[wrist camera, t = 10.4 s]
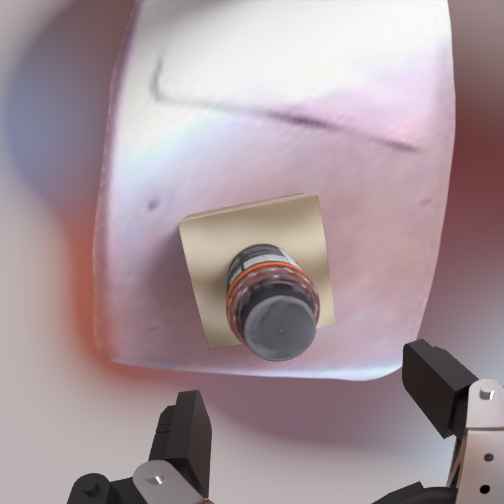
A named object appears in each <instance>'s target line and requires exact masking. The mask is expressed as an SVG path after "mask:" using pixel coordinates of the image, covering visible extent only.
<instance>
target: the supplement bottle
mask: <svg viewBox="0 0 504 504" xmlns="http://www.w3.org/2000/svg"><path fill="white" fill-rule="evenodd" d="M226 288H227V290H226V315H227V320H228V324H229V326H230V329H231V331H232V333H233V334H234V336H235V337H236V338H237V339H238V340H239V341H240V342H241V343H242V344H243V345H245V346H246V347H248V348H249V349H251V351H252V352H253V353H255V354H256V355H257V356H259V357H261V358H263V359H266V360H268V361H286V360H290V359H293V358H295V357H297V356H299V355H301V354H302V353H303V352H304V351H305V350H306V349H307V348H308V347H309V346H310V344H311V343H312V341H313V339H314V337H315V333H316V325H317V323H318V320H319V315H320V299H319V295H318V292H317V290H316V288H315V286H314V285H313V283H312V282H311V280H310V279H309V278H308V277H307V275H306V274H305V273H304V272H303V270H302V269H301V268H300V267H299V266H298V265H297V261H296V263H295V261H294V260H293V259H292V258H291V257H290V256H289V255H288V254H287V253H286V252H285V251H284V250H282V249H281V248H279V247H277V246H274V245H271V244H255V245H251V246H249V247H247V248H245V249H243V250H242V251H241V252H239V253H238V254H237V255H236V256H235V258H234V259H233V261H232V262H231V265H230V267H229V270H228V274H227V287H226Z"/></svg>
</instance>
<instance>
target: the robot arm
mask: <svg viewBox="0 0 504 504" xmlns="http://www.w3.org/2000/svg"><path fill="white" fill-rule="evenodd" d="M402 381H403V384H404V387H405V389H406V390H407V392H408V393H409V394H410V396H411V397H412V398H413V399H414V401H415V402H416V403H417V405H418V406H419V407H420V409H421V410H422V411H423V412H424V414H425V415H426V416H427V418H428V419H429V420H430V422H431V423H432V424H433V425H434V427H435V428H436V429H437V431H438V432H439V433H440V435H441V436H442V437H443V439H445V438H447V437H449V436H451V435H453V434H454V435H455V436H456V437H457V438H456V441H455V446H454V451H453V457H452V462H451V467H450V472H449V476H448V480H447V483H446V487H429V488H423V486H422V484H421V482H420V481H419V482H416V483H414V484H412V485H409V486H407V487H404V488H401V489H399V490H396V491H394V492H391V493H389V494H387V495H386V496H384V497H382V498H381V499H379V500H377V501H375V502H374V503H372V504H504V386H503V385H501V383H499V382H498V381H496V380H493V379H482V380H479V379H478V378H477V377H476V376H475V375H474V374H472V373H471V372H470V371H469V370H468V369H467V368H466V367H465V366H463V365H462V364H461V363H459V361H457V359H455V358H454V357H453V356H452V355H451V354H450V353H449V352H447V351H446V350H444V349H441V348H439V347H436V346H435V347H432V346H430V345H429V344H428V343H427V342H426V341H425V340H423V339H419V340H416V341H413V342H410V343H407V344H405V345H404V348H403V366H402ZM211 440H212V429H211V423H210V419H209V416H208V414H207V411H206V408H205V405H204V402H203V399H202V396H201V394H200V392H199V390H193V391H185V392H179V393H178V397H177V401H176V405H173V406H167V408H166V409H165V410H164V411H163V412H162V413H161V415H160V418H159V422H158V426H157V429H156V434H155V437H154V440H153V444H152V448H151V452H150V455H149V460H148V462H146V463H144V464H142V465H141V466H139V467H138V468H137V469H136V471H135V472H134V474H133V477H130V478H127V479H122V480H117V481H113V482H109V480H108V479H107V478H106V477H105V476H103V475H101V474H98V473H91V474H87V475H84V476H82V477H80V478H79V479H78V480H77V481H76V482H75V483H74V485H73V487H72V490H71V493H70V496H69V499H68V502H67V504H214V503H213V502H212V501H210V500H209V499H207V500H205V499H206V498H208V495H209V475H210V455H211Z"/></svg>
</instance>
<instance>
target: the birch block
mask: <svg viewBox="0 0 504 504" xmlns="http://www.w3.org/2000/svg"><path fill="white" fill-rule="evenodd" d="M178 226H179V230H180V235H181V239H182V244H183V248H184V253H185V257H186V261H187V266H188V270H189V274H190V278H191V282H192V286H193V290H194V294H195V298H196V302H197V306H198V310H199V314H200V318H201V322H202V325H203V329H204V333H205V336H206V340H207V344H208V347H209V350H210V349H216V348H222V347H228V346H234V345H239V344H242V343H241V342H240V341H239V340H238V339H237V338H236V337H235V336H234V334H233V333H232V331H231V329H230V326H229V324H228V320H227V315H226V290H227V288H226V287H227V274H228V270H229V267H230V265H231V262H232V261H233V259H234V258H235V256H236V255H237V254H238V253H239V252H241V251H242V250H243V249H245V248H247V247H249V246H251V245H255V244H271V245H274V246H277V247H279V248H281V249H282V250H284V251H285V252H286V253H287V254H288V255H289V256H290V257H291V258H292V259H293V260H294V261H295V263H296V261H297V265H298V266H299V267H300V268H301V269H302V270H303V272H304V273H305V274H306V275H307V277H308V278H309V279H310V280H311V282H312V283H313V285H314V286H315V288H316V290H317V292H318V295H319V299H320V315H319V320H318V323H317V325H316V329H317V328H321V327H326V326H330V325H334V324H335V318H334V308H333V299H332V290H331V282H330V274H329V266H328V258H327V251H326V243H325V236H324V229H323V223H322V216H321V210H320V204H319V197H318V196H317V195H310V194H302V193H301V194H295V195H289V196H284V197H278V198H273V199H267V200H262V201H256V202H251V203H246V204H241V205H235V206H230V207H225V208H220V209H215V210H210V211H206V212H201V213H196V214H191V215H188V216H187V217H185V218H184V219H182V220H181V221H179V222H178Z"/></svg>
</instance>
